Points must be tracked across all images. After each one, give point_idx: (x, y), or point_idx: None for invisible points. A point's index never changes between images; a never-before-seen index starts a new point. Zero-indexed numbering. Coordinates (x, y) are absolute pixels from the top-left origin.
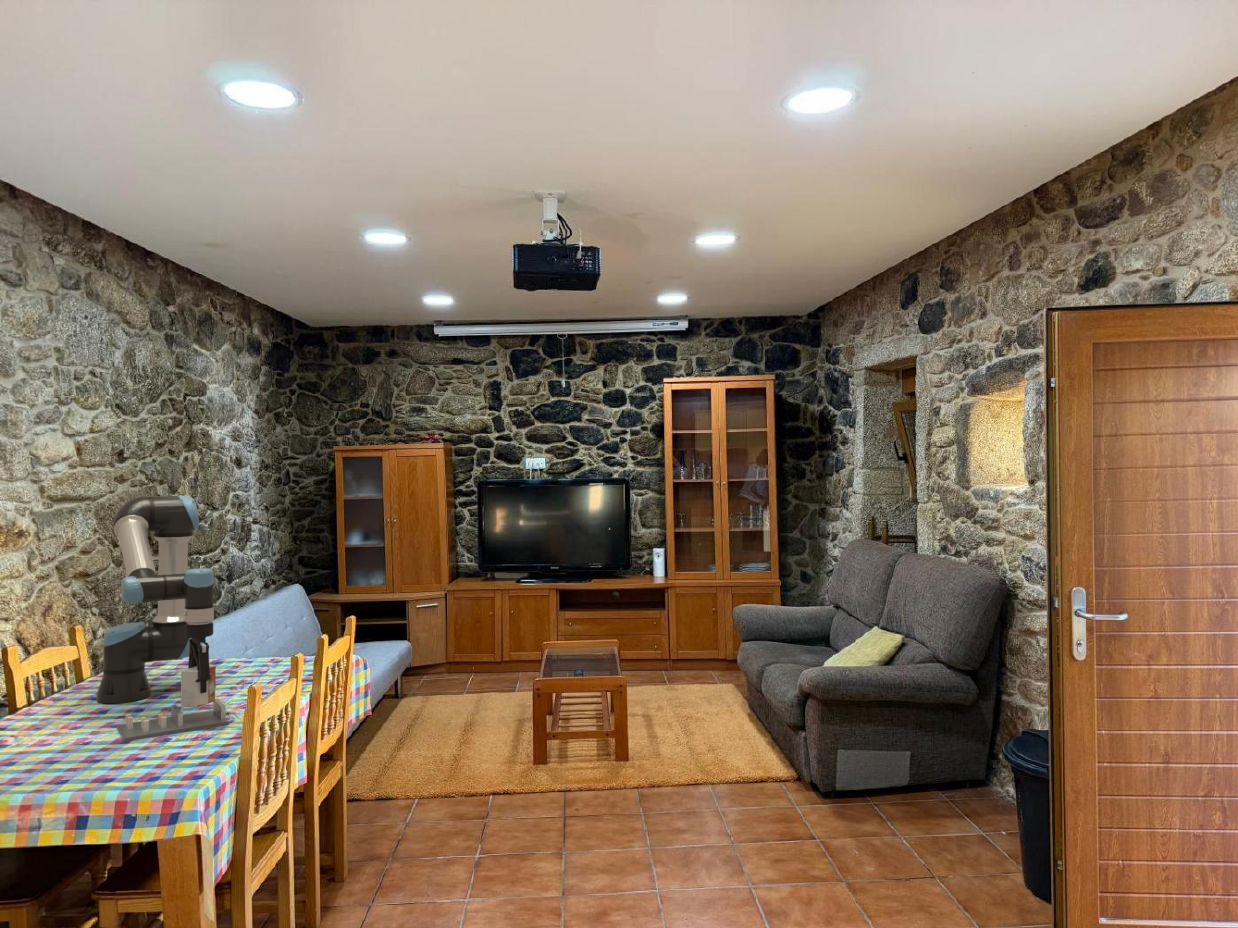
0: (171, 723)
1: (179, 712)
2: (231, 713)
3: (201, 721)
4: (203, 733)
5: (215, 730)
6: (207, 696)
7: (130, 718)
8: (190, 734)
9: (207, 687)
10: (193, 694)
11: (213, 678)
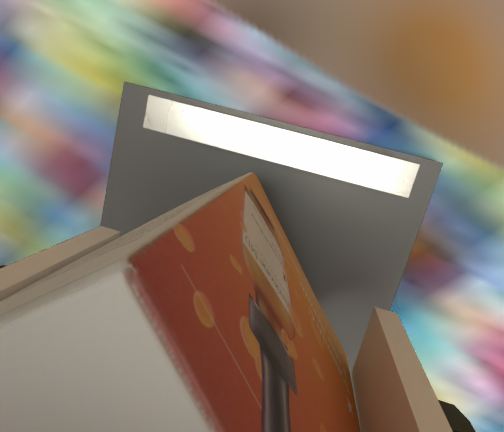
0: None
1: None
2: (208, 22)
3: (306, 264)
4: (476, 333)
5: (481, 266)
6: (410, 347)
7: None
8: (432, 378)
9: (434, 406)
10: None
11: (237, 250)
